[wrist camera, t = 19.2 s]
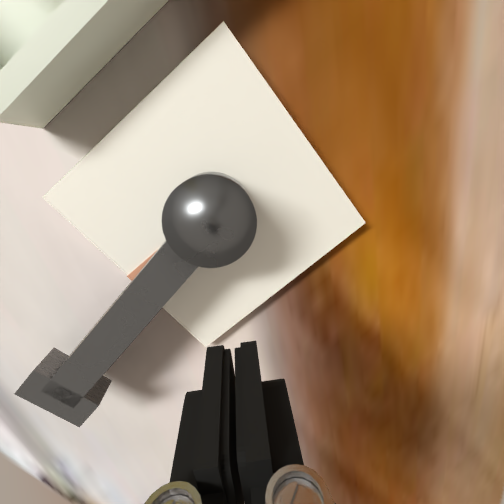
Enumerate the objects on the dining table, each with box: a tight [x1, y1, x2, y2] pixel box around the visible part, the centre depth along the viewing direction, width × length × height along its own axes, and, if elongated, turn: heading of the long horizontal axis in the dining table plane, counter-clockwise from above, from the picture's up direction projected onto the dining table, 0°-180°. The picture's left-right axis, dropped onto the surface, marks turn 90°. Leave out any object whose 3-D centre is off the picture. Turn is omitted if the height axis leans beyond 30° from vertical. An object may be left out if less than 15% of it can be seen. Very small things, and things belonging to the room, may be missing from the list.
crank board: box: [42, 21, 365, 347], centre depth 17 cm, size 13×13×1 cm
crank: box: [15, 172, 257, 427], centre depth 16 cm, size 17×4×3 cm, turn 138°
